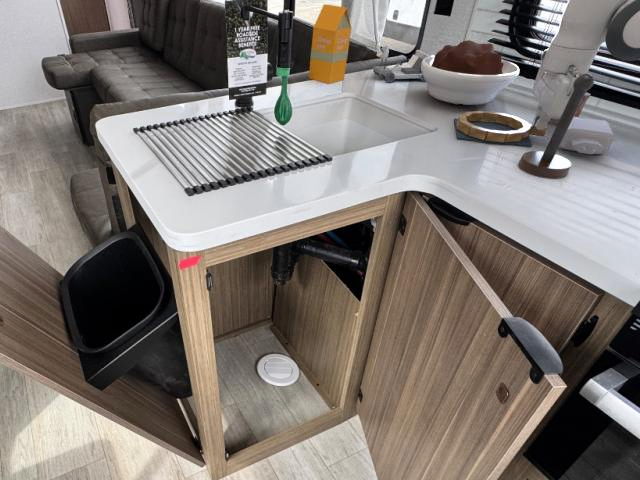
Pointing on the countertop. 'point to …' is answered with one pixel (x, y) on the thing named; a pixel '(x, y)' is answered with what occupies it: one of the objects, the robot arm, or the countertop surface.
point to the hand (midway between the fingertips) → (538, 126)
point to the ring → (494, 135)
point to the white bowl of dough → (467, 73)
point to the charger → (588, 136)
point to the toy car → (400, 66)
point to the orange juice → (330, 45)
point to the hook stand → (557, 138)
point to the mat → (491, 126)
